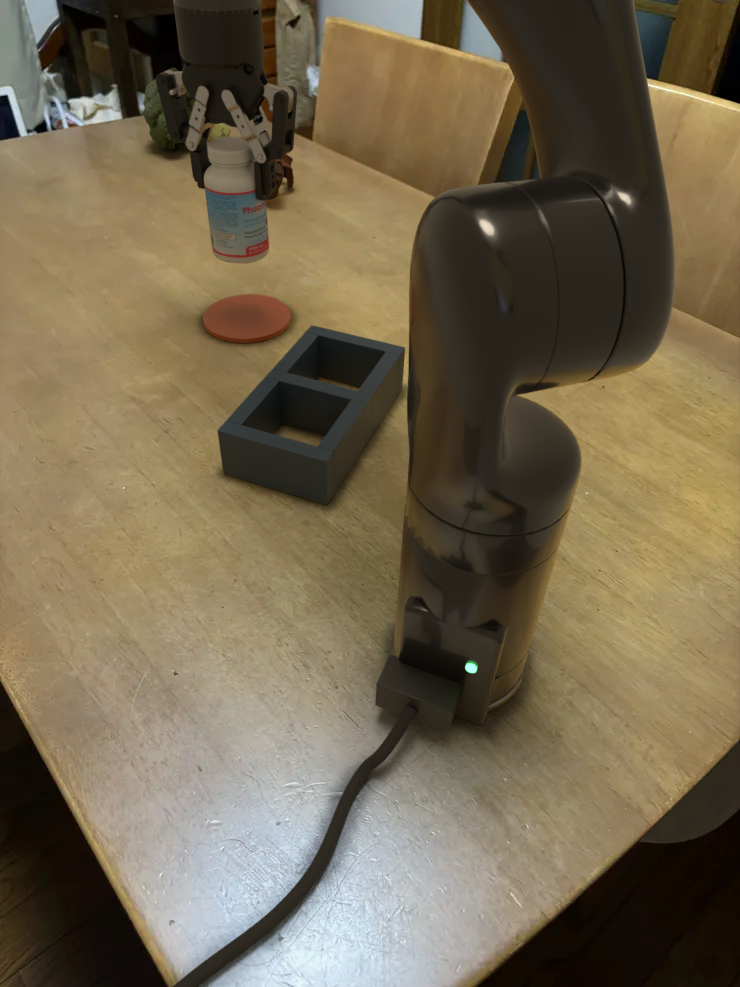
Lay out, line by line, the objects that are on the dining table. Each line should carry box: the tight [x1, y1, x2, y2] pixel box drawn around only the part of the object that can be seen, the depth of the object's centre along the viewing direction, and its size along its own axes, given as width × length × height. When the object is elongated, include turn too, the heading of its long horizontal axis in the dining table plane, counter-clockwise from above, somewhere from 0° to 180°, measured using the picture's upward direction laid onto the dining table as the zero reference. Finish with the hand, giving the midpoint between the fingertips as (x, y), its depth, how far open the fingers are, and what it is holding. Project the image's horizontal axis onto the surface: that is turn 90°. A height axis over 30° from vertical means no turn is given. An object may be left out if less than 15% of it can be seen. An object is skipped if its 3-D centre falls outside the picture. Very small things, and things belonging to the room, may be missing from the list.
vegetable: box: [143, 78, 231, 151], centre depth 124 cm, size 12×13×15 cm
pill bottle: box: [204, 136, 270, 264], centre depth 77 cm, size 6×6×11 cm
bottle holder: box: [217, 324, 406, 506], centre depth 71 cm, size 19×10×5 cm, turn 158°
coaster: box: [202, 293, 292, 344], centre depth 86 cm, size 10×10×1 cm
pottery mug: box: [253, 153, 295, 201], centre depth 111 cm, size 12×10×8 cm
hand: (235, 191), depth 76 cm, fingers closed on pill bottle, 6 cm apart
